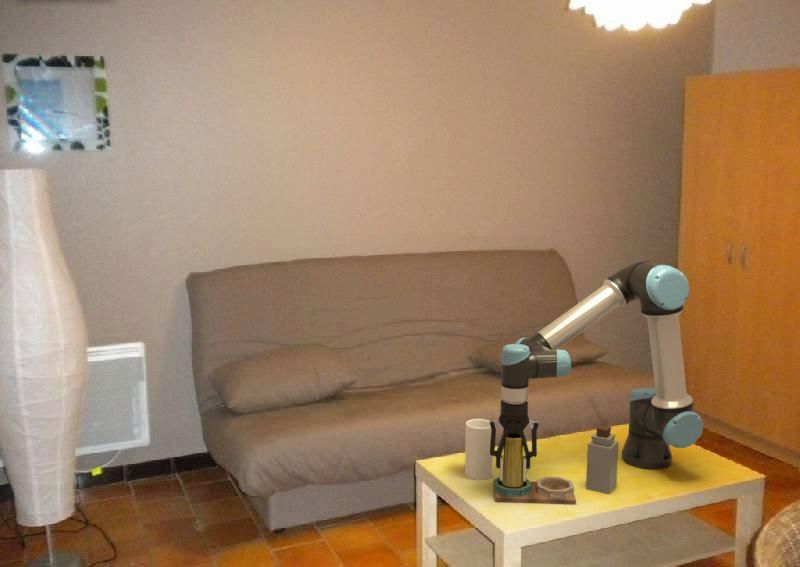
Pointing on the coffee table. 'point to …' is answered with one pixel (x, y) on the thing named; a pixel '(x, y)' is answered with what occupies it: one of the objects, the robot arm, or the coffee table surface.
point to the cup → (478, 450)
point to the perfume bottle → (602, 461)
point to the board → (537, 491)
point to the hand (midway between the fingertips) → (512, 479)
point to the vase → (513, 461)
